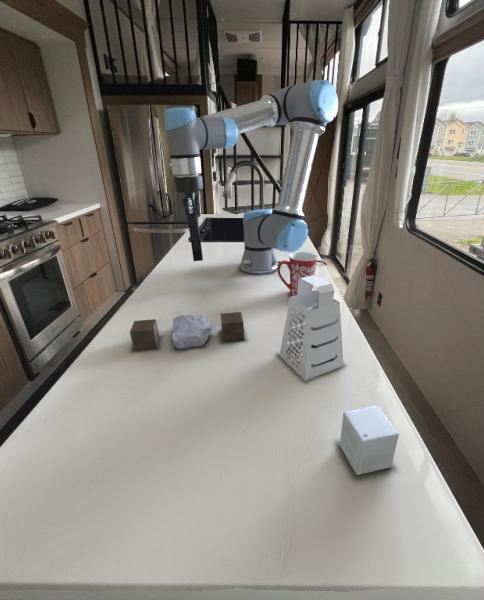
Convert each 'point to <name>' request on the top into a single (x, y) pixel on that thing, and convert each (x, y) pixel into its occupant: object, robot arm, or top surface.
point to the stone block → (190, 331)
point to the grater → (313, 328)
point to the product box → (368, 439)
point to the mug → (298, 269)
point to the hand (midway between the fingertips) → (198, 259)
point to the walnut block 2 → (232, 326)
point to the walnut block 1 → (144, 334)
